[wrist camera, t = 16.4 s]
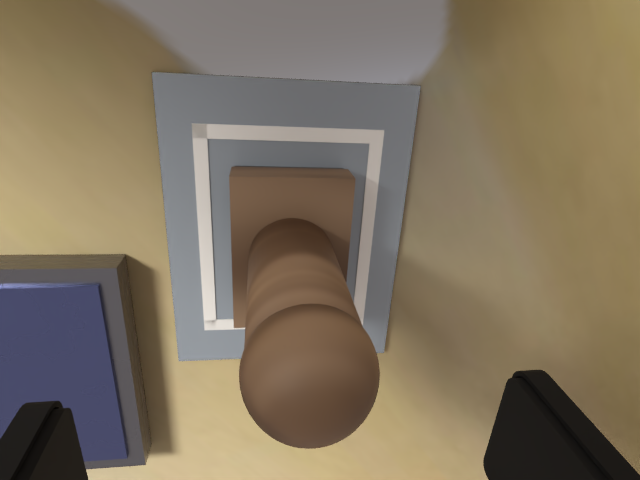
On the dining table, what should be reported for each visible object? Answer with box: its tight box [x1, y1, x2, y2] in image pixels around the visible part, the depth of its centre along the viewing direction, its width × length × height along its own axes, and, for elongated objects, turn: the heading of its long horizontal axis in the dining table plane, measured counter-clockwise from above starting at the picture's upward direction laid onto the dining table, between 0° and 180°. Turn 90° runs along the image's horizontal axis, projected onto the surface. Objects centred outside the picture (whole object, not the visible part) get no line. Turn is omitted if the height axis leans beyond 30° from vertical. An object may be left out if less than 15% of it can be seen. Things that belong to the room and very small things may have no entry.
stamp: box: [229, 166, 380, 448], centre depth 15 cm, size 7×5×11 cm
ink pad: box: [0, 254, 151, 469], centre depth 21 cm, size 12×9×2 cm
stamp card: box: [152, 72, 421, 361], centre depth 20 cm, size 14×11×1 cm
